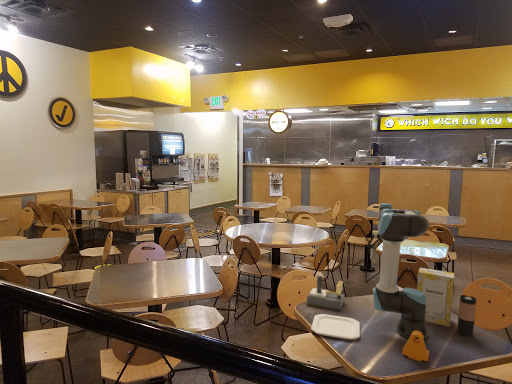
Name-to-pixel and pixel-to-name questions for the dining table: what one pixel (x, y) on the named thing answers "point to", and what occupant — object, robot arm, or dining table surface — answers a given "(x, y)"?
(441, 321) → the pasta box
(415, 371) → the dining table surface
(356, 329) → the plate
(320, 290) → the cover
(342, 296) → the block
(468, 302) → the travel mug
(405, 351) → the bracket
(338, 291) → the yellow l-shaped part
